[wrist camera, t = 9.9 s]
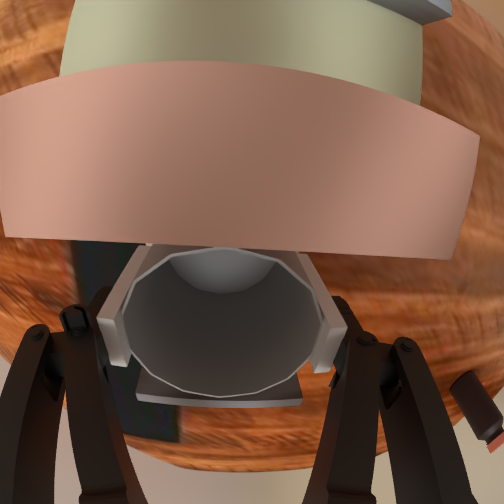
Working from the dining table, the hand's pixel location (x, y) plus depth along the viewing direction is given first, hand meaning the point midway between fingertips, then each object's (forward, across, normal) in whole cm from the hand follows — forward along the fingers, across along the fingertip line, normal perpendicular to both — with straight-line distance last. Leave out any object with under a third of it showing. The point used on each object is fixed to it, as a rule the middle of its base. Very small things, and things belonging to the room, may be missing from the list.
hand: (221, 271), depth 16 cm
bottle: (+7, +51, -30) cm, 60 cm away
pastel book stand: (+7, 0, +4) cm, 9 cm away
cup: (+4, 0, 0) cm, 4 cm away
